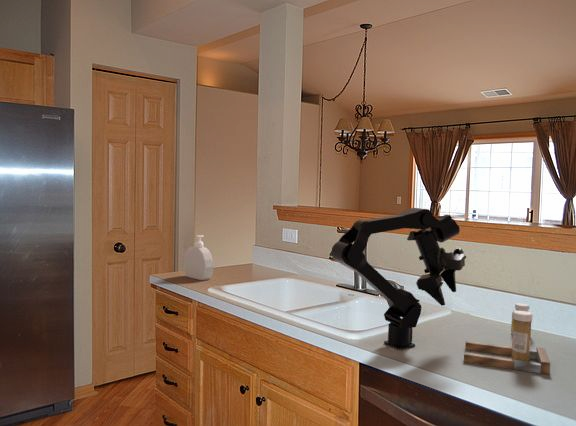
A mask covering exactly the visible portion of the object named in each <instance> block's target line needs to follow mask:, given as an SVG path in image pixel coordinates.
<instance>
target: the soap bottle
mask: <svg viewBox="0 0 576 426" xmlns="http://www.w3.org/2000/svg"><path fill="white" fill-rule="evenodd" d="M204 237H205V235H204V234H200V235H198V234H197V235H196V241H195V242H194V243H193V246H191V247H189V248H188V249H187V251H186V252H185V256H184V258H183V259H184V261H183V265H184V266H183V268H184V272H185V276H186V277H187V278H191V279H194V280H198V281H207V280H210V279H211V277H212V275H213V272H214V259H213V256H212V253H211V251H210V250H209V249H208V248H207V247H204V245H205V244H204V242H203V241H202V238H204Z"/></svg>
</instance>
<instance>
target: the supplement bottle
mask: <svg viewBox="0 0 576 426" xmlns="http://www.w3.org/2000/svg"><path fill="white" fill-rule="evenodd" d="M514 305H515V306H514V308H515V309H514V310H512V312H511V323H510V324H511V325H510V326H511V327H510V332H511V335H513V321H514V320H513V312H514V311H527V312H530V311H529V310H530V304H528V303H524V302H516V303H515V304H514Z"/></svg>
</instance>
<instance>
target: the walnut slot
mask: <svg viewBox="0 0 576 426" xmlns="http://www.w3.org/2000/svg"><path fill="white" fill-rule="evenodd" d="M464 348H465V350H469V351H474V352H475V351H476V352H483V353H488V354H489V353H490V354H496V355H504V356H510V357H512V346H507V345H501V344H500V345H499V344H493V343H485V342H479V341H478V342H477V341H472V340H465V347H464ZM535 348H536V349H531V348H530V360H532V359H533V360H536V362H535V361H534V362H532V361H530V362H527V361H520V360H513V359H511V358H505V357H498V356H491V355H484V354H479V353H470V352H464V353H463V362H464V363H471V364H477V365H482V366H483V365H484V366H490V367H494V368H495V367H496V368H503V369H509V370H517V371H523V372H530V373H536V374H542V375H550V374H551V371H550V370H551V361H550V359H549V355H548V353H547V350H546V348H545V347H544V346H543V347H541V346H536V347H535Z"/></svg>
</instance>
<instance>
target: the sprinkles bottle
mask: <svg viewBox="0 0 576 426" xmlns="http://www.w3.org/2000/svg"><path fill="white" fill-rule="evenodd" d="M512 312H513V311H512ZM513 320H514V321H513V334H512V335H511V336H512V338H511V339H512V340H511V347H512V356H511V358H510V359H513V360H520V361H527V362H531V358H530V349H531V344H532V343H531V342H532V341H531V339H532V337H531V335H532V334H531V333H532V323H533V313H532V312H530V311H529V312H527V311H514V312H513Z"/></svg>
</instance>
